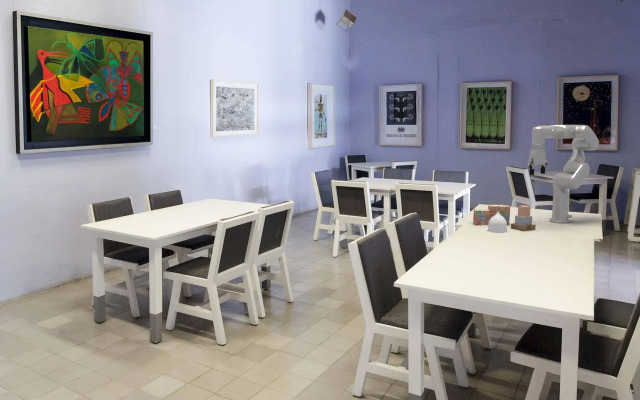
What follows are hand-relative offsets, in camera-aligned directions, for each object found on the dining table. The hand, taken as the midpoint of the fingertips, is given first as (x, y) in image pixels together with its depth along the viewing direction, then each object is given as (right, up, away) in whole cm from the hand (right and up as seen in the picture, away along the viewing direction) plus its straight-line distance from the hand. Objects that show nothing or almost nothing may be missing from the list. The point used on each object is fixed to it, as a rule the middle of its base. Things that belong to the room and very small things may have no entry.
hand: (537, 174), depth 343 cm
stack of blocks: (-27, -32, +7) cm, 42 cm away
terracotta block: (-12, -26, -9) cm, 30 cm away
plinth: (-12, -34, -8) cm, 36 cm away
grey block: (-12, -31, -8) cm, 34 cm away
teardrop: (-29, -35, -13) cm, 47 cm away
